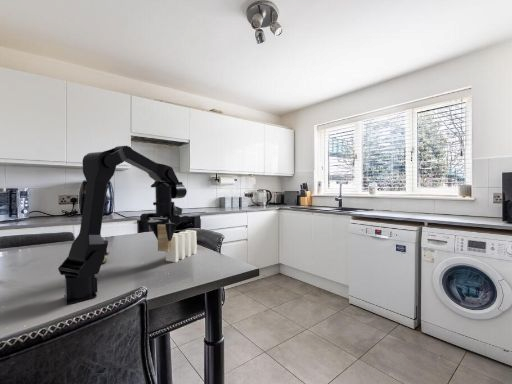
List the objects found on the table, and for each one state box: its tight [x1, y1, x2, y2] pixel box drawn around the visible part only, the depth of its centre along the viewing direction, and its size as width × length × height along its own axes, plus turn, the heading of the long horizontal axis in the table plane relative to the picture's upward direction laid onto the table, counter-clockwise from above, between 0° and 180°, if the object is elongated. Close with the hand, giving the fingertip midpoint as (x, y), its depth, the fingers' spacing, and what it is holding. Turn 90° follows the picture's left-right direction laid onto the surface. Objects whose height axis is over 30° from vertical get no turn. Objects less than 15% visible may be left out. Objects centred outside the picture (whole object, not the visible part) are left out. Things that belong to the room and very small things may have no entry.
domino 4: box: [178, 231, 192, 258], centre depth 108 cm, size 2×5×10 cm, turn 68°
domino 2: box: [165, 235, 180, 263], centre depth 100 cm, size 2×5×10 cm, turn 68°
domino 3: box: [173, 232, 186, 260], centre depth 104 cm, size 2×5×10 cm, turn 68°
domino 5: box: [184, 229, 198, 255], centre depth 111 cm, size 2×5×10 cm, turn 68°
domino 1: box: [157, 223, 171, 253], centre depth 96 cm, size 2×5×10 cm, turn 67°
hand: (164, 240), depth 96 cm, fingers closed on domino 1, 5 cm apart
